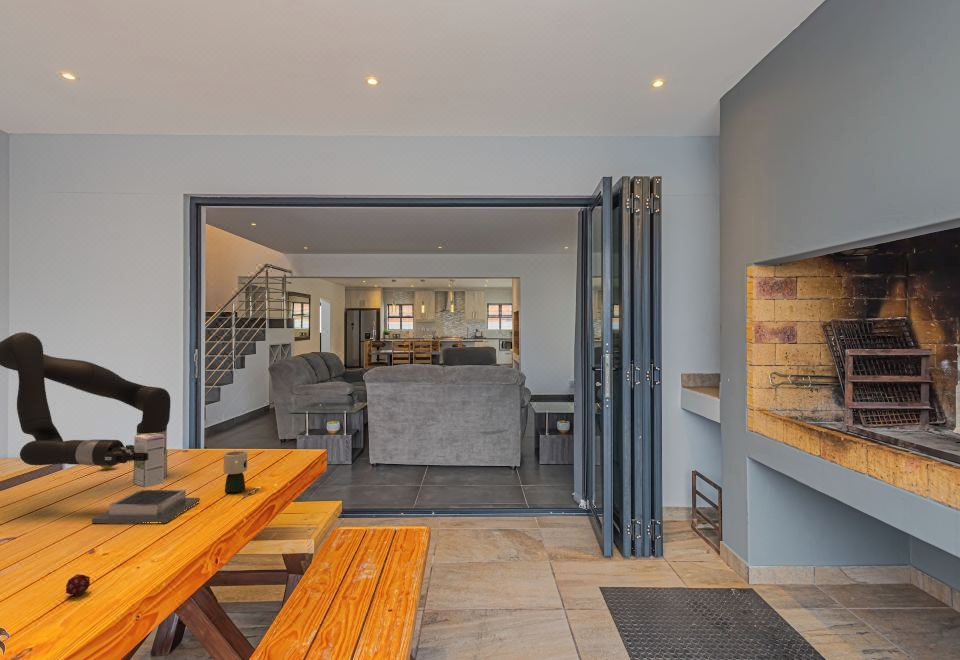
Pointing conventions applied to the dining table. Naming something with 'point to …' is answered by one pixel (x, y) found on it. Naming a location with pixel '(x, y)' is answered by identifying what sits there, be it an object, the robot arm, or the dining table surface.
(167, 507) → the collar stand
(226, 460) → the beige trophy cup
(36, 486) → the dining table surface
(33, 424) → the robot arm
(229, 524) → the dining table surface
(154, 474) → the syrup box
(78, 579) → the dice
